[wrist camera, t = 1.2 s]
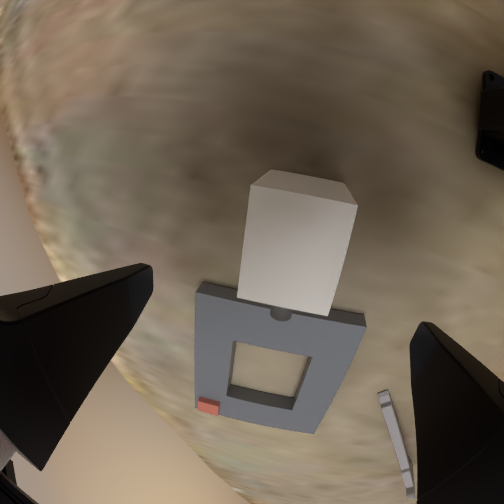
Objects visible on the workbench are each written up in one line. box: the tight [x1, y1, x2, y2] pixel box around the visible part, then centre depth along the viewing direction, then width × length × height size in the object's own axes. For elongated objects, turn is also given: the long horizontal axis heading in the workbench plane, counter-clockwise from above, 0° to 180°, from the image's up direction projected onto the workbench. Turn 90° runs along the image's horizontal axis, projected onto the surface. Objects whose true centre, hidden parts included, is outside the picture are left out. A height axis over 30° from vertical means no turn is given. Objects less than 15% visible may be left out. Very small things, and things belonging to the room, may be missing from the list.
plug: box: [237, 169, 358, 321], centre depth 16 cm, size 4×7×6 cm, turn 173°
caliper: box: [378, 390, 415, 499], centre depth 22 cm, size 20×1×6 cm, turn 30°
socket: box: [195, 282, 367, 434], centre depth 22 cm, size 12×14×2 cm
